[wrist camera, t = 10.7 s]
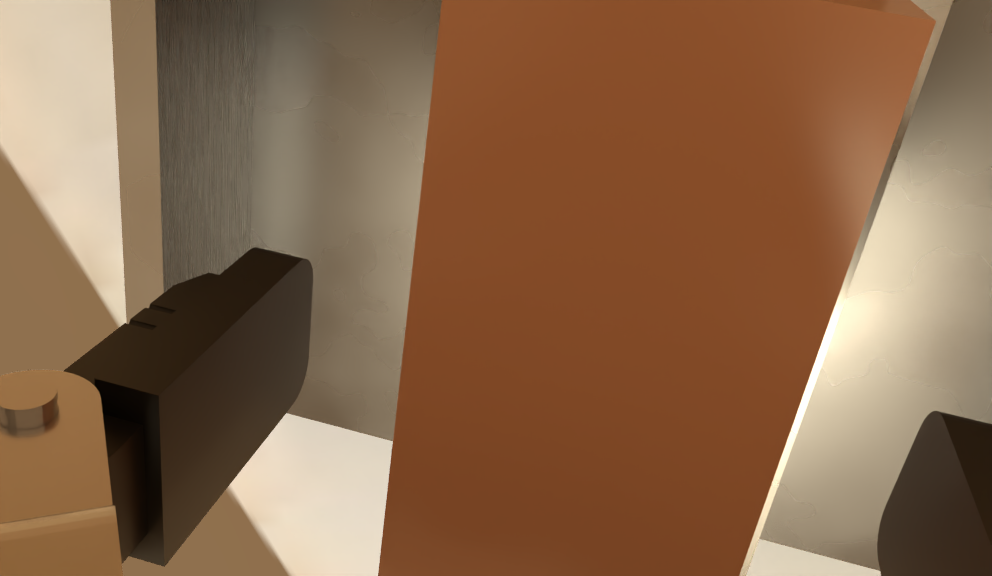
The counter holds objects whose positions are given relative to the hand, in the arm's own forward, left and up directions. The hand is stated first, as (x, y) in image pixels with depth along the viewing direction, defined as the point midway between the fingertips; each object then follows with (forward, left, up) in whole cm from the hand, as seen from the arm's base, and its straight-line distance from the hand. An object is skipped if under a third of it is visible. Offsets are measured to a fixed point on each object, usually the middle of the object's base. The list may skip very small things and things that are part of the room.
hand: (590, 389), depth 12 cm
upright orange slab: (0, +1, -7) cm, 7 cm away
